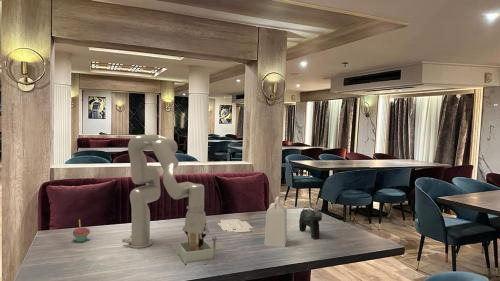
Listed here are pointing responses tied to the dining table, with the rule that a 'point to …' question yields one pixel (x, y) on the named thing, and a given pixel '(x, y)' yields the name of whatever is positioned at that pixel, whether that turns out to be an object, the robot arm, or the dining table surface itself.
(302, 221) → the dark grey animal figurine
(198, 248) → the strut
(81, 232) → the cupcake
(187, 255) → the bin
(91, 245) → the dining table surface
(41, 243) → the dining table surface
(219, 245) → the stud plate
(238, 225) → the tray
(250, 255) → the dining table surface
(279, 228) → the milk
